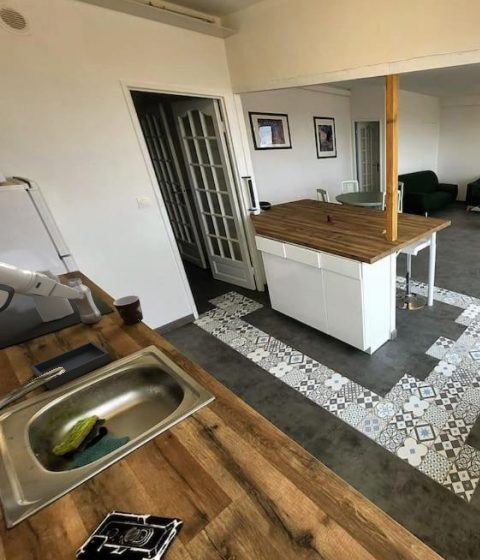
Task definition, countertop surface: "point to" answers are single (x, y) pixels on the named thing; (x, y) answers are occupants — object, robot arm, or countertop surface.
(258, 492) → the countertop surface
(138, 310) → the coffee mug
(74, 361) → the dark blue tray
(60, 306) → the grey tall flat block
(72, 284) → the plastic bottle
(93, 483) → the countertop surface
